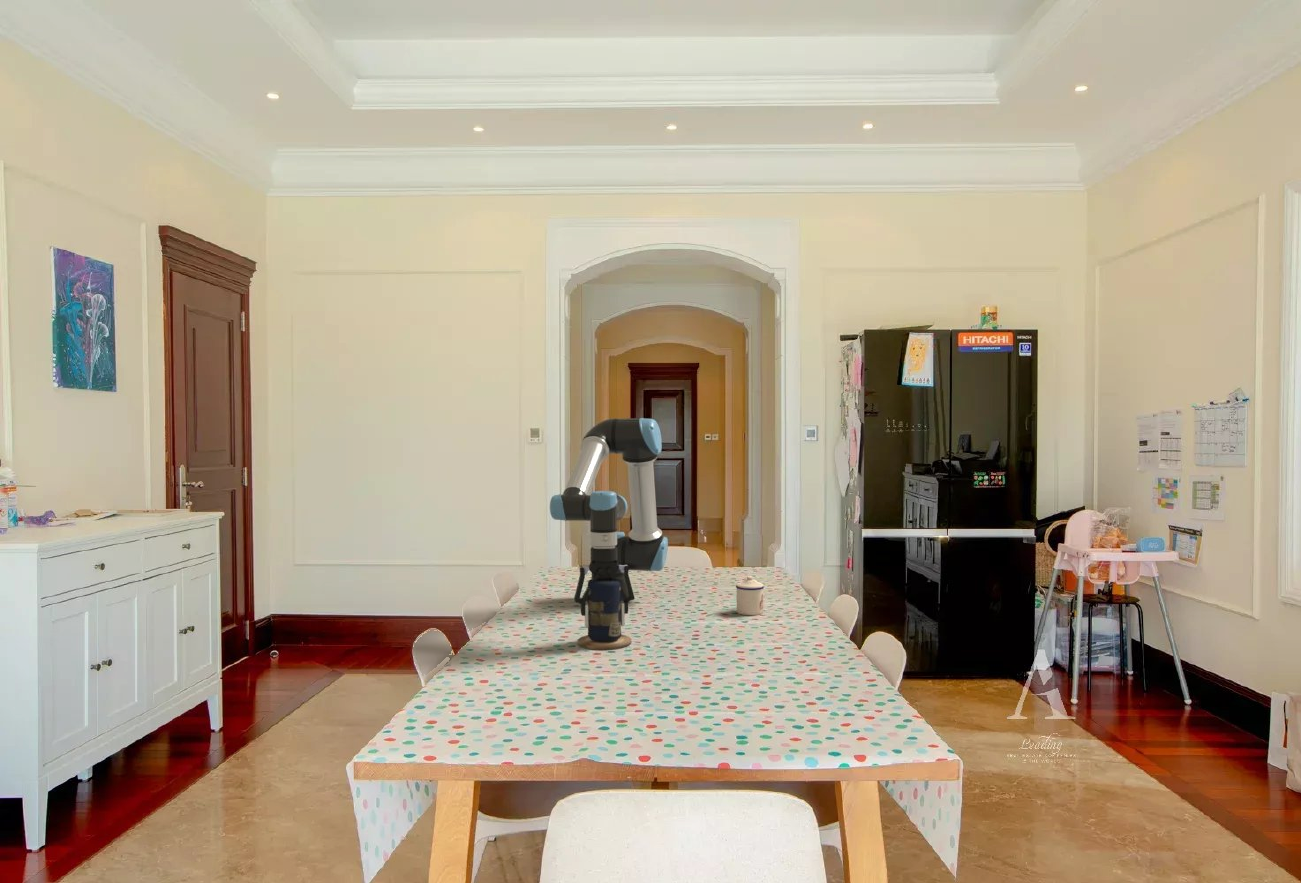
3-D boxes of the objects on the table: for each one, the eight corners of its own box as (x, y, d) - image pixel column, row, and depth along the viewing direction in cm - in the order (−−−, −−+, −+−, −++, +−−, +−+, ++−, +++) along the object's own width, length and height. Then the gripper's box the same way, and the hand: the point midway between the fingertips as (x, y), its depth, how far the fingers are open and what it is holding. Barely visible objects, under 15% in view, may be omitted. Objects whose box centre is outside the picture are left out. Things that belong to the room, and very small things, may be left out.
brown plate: (566, 644, 234) (566, 641, 234) (601, 633, 245) (601, 630, 245) (607, 653, 224) (607, 649, 224) (642, 641, 236) (642, 638, 236)
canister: (589, 635, 240) (588, 572, 239) (622, 635, 240) (621, 572, 239) (586, 644, 230) (585, 579, 230) (621, 643, 230) (620, 578, 230)
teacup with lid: (766, 615, 266) (766, 579, 266) (738, 616, 266) (737, 579, 266) (759, 607, 278) (759, 572, 278) (732, 607, 278) (732, 572, 278)
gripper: (565, 549, 229) (565, 631, 229) (645, 547, 232) (645, 627, 233) (563, 545, 236) (564, 624, 237) (640, 543, 240) (641, 621, 240)
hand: (604, 626), depth 235 cm, fingers closed on canister, 9 cm apart
